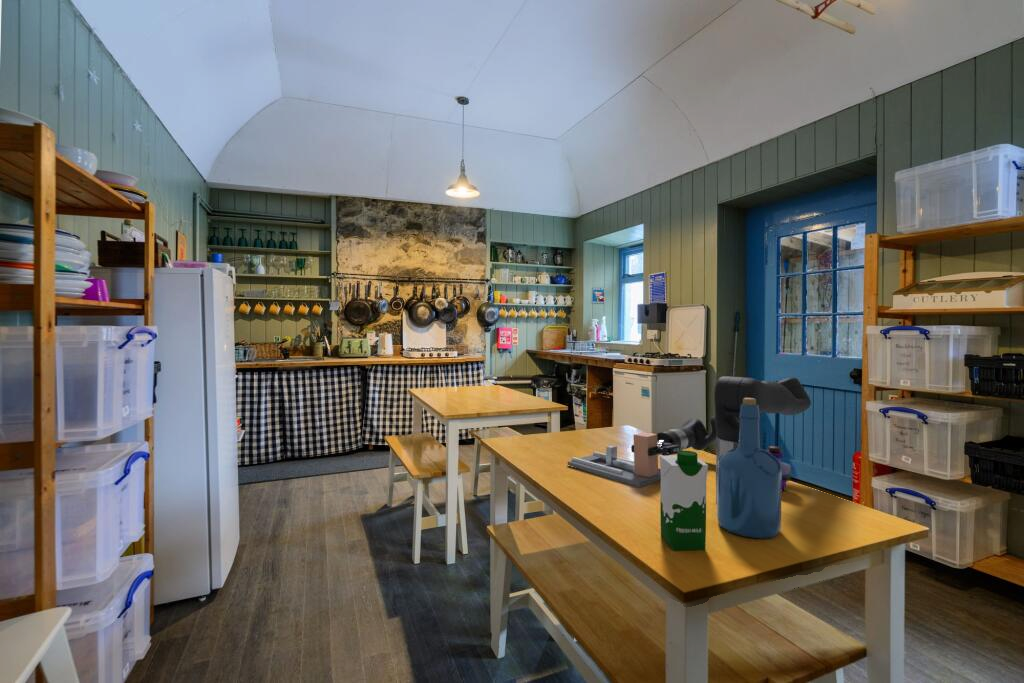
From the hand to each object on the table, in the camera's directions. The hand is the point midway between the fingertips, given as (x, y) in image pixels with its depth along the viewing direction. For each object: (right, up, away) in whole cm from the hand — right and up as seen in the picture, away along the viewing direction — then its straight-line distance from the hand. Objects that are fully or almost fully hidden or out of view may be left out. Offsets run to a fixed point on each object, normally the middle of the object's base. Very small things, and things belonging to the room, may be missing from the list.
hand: (640, 450), depth 144 cm
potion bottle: (+36, -9, -7) cm, 38 cm away
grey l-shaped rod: (-3, -7, +8) cm, 11 cm away
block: (+2, -7, +2) cm, 8 cm away
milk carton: (-2, -11, -41) cm, 42 cm away
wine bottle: (+16, -10, -34) cm, 39 cm away
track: (-5, -9, +10) cm, 14 cm away
